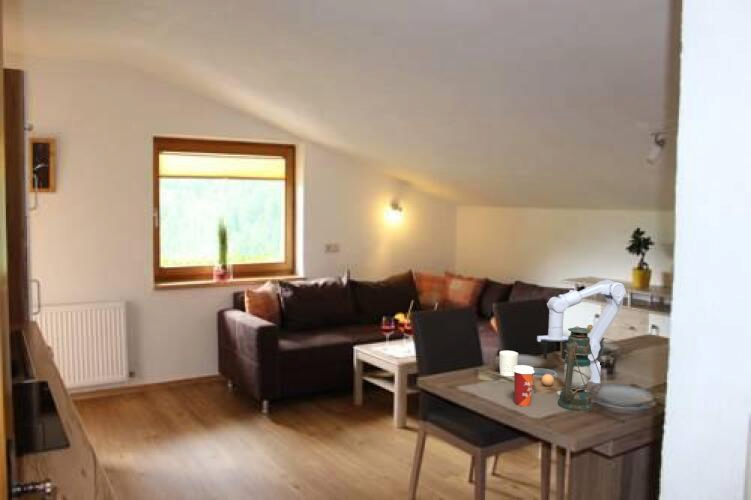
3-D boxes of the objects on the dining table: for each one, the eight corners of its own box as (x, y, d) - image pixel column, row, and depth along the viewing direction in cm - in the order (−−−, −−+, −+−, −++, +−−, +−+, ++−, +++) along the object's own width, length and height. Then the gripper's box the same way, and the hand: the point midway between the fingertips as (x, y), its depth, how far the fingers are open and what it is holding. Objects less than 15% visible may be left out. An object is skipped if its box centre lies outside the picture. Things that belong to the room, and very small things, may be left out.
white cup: (517, 379, 279) (518, 355, 278) (498, 377, 281) (499, 354, 280) (517, 373, 287) (518, 351, 286) (498, 372, 289) (499, 350, 288)
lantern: (568, 395, 259) (572, 320, 256) (605, 404, 250) (610, 325, 247) (548, 408, 244) (552, 328, 240) (586, 417, 235) (591, 334, 232)
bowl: (551, 374, 287) (551, 368, 287) (560, 383, 275) (560, 376, 274) (522, 374, 287) (522, 368, 286) (529, 383, 274) (530, 376, 274)
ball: (551, 384, 270) (552, 372, 270) (555, 388, 265) (555, 376, 265) (539, 383, 270) (540, 372, 269) (543, 387, 265) (544, 375, 265)
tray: (559, 383, 275) (559, 377, 275) (570, 394, 261) (570, 388, 261) (525, 383, 274) (525, 377, 274) (534, 393, 260) (535, 387, 260)
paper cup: (528, 409, 243) (530, 371, 241) (508, 404, 247) (510, 368, 245) (535, 403, 249) (537, 366, 248) (516, 399, 254) (517, 363, 252)
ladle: (586, 390, 264) (586, 387, 264) (590, 395, 261) (591, 392, 260) (555, 392, 262) (555, 389, 262) (559, 397, 258) (559, 394, 258)
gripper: (569, 324, 279) (568, 356, 280) (535, 323, 278) (534, 355, 279) (575, 328, 271) (573, 360, 273) (540, 327, 271) (538, 360, 272)
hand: (554, 358), depth 276 cm, fingers open, 7 cm apart
